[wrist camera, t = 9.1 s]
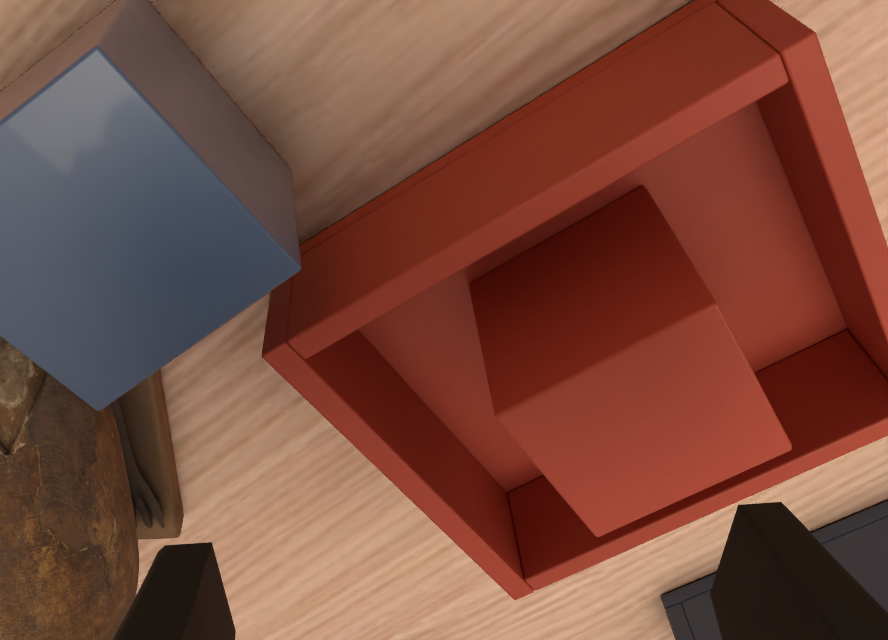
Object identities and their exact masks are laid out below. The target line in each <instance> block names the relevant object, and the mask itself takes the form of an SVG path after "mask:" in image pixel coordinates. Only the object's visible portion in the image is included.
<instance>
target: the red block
mask: <svg viewBox="0 0 888 640" xmlns="http://www.w3.org/2000/svg"><path fill="white" fill-rule="evenodd" d="M469 289H470V294H471V299H472V304H473V309H474V314H475V319H476V324H477V329H478V334H479V339H480V344H481V349H482V354H483V359H484V364H485V369H486V374H487V379H488V384H489V389H490V395H491V400H492V405H493V410H494V415H495V418H496V419H497V420H498V422H499V423H500V424H501V425H502V426H503V427H504V429H505V430H506V431H507V432H508V433H509V435H510V436H511V437H512V438H513V439H514V440H515V442H516V443H517V444H518V445H519V446H520V448H521V449H522V450H523V451H524V452H525V453H526V455H527V456H528V457H529V458H530V459H531V461H532V462H533V463H534V464H535V465H536V466H537V468H538V469H539V470H540V471H541V472H542V474H543V475H544V476H545V477H546V478H547V479H548V481H549V482H550V483H551V484H552V485H553V487H554V488H555V489H556V490H557V491H558V492H559V494H560V495H561V496H562V497H563V498H564V500H565V501H566V502H567V503H568V504H569V505H570V507H571V508H572V509H573V510H574V511H575V513H576V514H577V515H578V516H579V517H580V518H581V520H582V521H583V522H584V523H585V524H586V526H587V527H588V528H589V529H590V530H591V531H592V533H593V534H594V535H595V536H596V537H600V536H602V535H604V534H606V533H609V532H611V531H613V530H615V529H617V528H620V527H622V526H624V525H626V524H629V523H631V522H633V521H635V520H637V519H640V518H642V517H644V516H646V515H649V514H651V513H653V512H655V511H657V510H660V509H662V508H664V507H666V506H669V505H671V504H673V503H675V502H677V501H680V500H682V499H684V498H686V497H688V496H691V495H693V494H695V493H697V492H700V491H702V490H704V489H706V488H708V487H711V486H713V485H715V484H717V483H720V482H722V481H724V480H726V479H728V478H731V477H733V476H735V475H737V474H740V473H742V472H744V471H746V470H748V469H751V468H753V467H755V466H757V465H759V464H762V463H764V462H766V461H768V460H771V459H773V458H775V457H777V456H779V455H782V454H784V453H786V452H788V451H790V450H791V449H792V444H791V442H790V440H789V438H788V437H787V435H786V433H785V431H784V429H783V427H782V425H781V423H780V421H779V419H778V418H777V416H776V414H775V412H774V410H773V408H772V406H771V404H770V402H769V400H768V398H767V397H766V395H765V393H764V391H763V389H762V387H761V385H760V383H759V381H758V379H757V378H756V376H755V374H754V372H753V370H752V368H751V366H750V364H749V362H748V360H747V359H746V357H745V355H744V353H743V351H742V349H741V347H740V345H739V343H738V341H737V339H736V338H735V336H734V334H733V332H732V330H731V328H730V326H729V324H728V322H727V320H726V319H725V317H724V315H723V313H722V311H721V309H720V307H719V305H718V303H717V302H716V300H715V298H714V297H713V295H712V294H711V292H710V290H709V289H708V287H707V285H706V284H705V282H704V281H703V279H702V277H701V276H700V274H699V272H698V271H697V269H696V268H695V266H694V264H693V263H692V261H691V259H690V258H689V256H688V255H687V253H686V251H685V250H684V248H683V246H682V245H681V243H680V242H679V240H678V238H677V237H676V235H675V233H674V232H673V230H672V229H671V227H670V225H669V224H668V222H667V220H666V219H665V217H664V216H663V214H662V212H661V211H660V209H659V207H658V206H657V204H656V203H655V201H654V199H653V198H652V196H651V194H650V193H649V191H648V190H647V188H646V187H645V186H641V187H639V188H637V189H635V190H634V191H632V192H630V193H628V194H627V195H625V196H623V197H621V198H620V199H618V200H616V201H614V202H613V203H611V204H609V205H607V206H605V207H604V208H602V209H600V210H598V211H597V212H595V213H593V214H591V215H590V216H588V217H586V218H584V219H583V220H581V221H579V222H577V223H576V224H574V225H572V226H570V227H568V228H567V229H565V230H563V231H561V232H560V233H558V234H556V235H554V236H553V237H551V238H549V239H547V240H546V241H544V242H542V243H540V244H538V245H537V246H535V247H533V248H531V249H530V250H528V251H526V252H524V253H523V254H521V255H519V256H517V257H516V258H514V259H512V260H510V261H508V262H507V263H505V264H503V265H501V266H500V267H498V268H496V269H494V270H493V271H491V272H489V273H487V274H486V275H484V276H482V277H480V278H478V279H477V280H475V281H473V282H471V283H470V284H469Z"/></svg>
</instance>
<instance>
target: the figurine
mask: <svg viewBox="0 0 888 640" xmlns="http://www.w3.org/2000/svg"><path fill="white" fill-rule="evenodd" d="M183 516H184V515H183V509H182V503H181V498H180V492H179V487H178V480H177V473H176V467H175V461H174V455H173V449H172V443H171V436H170V429H169V423H168V417H167V411H166V405H165V399H164V393H163V387H162V381H161V373H160V369H159V370H158V371H156V372H155V373H153V374H152V375H150V376H149V377H148V378H146V379H145V380H143V381H142V382H140V383H139V384H138V385H136V386H135V387H133V388H132V389H131V390H129V391H128V392H126V393H125V394H123V395H122V396H121V397H119V398H118V399H116V400H115V401H113V402H112V403H111V404H109V405H108V406H106V407H105V408H103V409H102V410H101V411H97V410H95V409H94V408H93V407H91V406H90V405H89V404H88V403H86V402H85V401H84V400H82V399H81V398H80V397H78V396H77V395H76V394H75V393H73V392H72V391H71V390H69V389H68V388H67V387H66V386H64V385H63V384H62V383H60V382H59V381H58V380H56V379H55V378H54V377H53V376H51V375H50V374H49V373H47V372H46V371H45V370H44V369H42V368H41V367H40V366H38V365H37V364H36V363H34V362H33V361H32V360H31V359H29V358H28V357H27V356H25V355H24V354H23V353H22V352H20V351H19V350H18V349H16V348H15V347H14V346H12V345H11V344H10V343H9V342H7V341H6V340H5V339H3V338H2V337H1V336H0V640H113V638H114V636H115V634H116V632H117V631H118V629H119V627H120V625H121V623H122V622H123V620H124V618H125V616H126V614H127V612H128V610H129V609H130V607H131V605H132V603H133V601H134V599H135V596H136V591H137V584H138V574H139V551H138V541H137V540H138V539H165V538H177V537H179V536H180V532H181V528H182V522H183Z"/></svg>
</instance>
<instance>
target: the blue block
mask: <svg viewBox="0 0 888 640" xmlns="http://www.w3.org/2000/svg"><path fill="white" fill-rule="evenodd" d="M300 270H301V259H300V250H299V241H298V232H297V224H296V215H295V206H294V197H293V188H292V179H291V170H290V168H289V167H288V166H287V164H286V163H285V162H284V161H283V160H282V158H281V157H280V156H279V155H278V154H277V153H276V151H275V150H274V149H273V148H272V147H271V145H270V144H269V143H268V142H267V141H266V140H265V138H264V137H263V136H262V135H261V134H260V132H259V131H258V130H257V129H256V128H255V127H254V125H253V124H252V123H251V122H250V121H249V119H248V118H247V117H246V116H245V115H244V114H243V112H242V111H241V110H240V109H239V108H238V106H237V105H236V104H235V103H234V102H233V101H232V99H231V98H230V97H229V96H228V95H227V93H226V92H225V91H224V90H223V89H222V88H221V86H220V85H219V84H218V83H217V82H216V81H215V79H214V78H213V77H212V76H211V75H210V73H209V72H208V71H207V70H206V69H205V68H204V66H203V65H202V64H201V63H200V62H199V60H198V59H197V58H196V57H195V56H194V55H193V53H192V52H191V51H190V50H189V49H188V47H187V46H186V45H185V44H184V43H183V42H182V40H181V39H180V38H179V37H178V36H177V34H176V33H175V32H174V31H173V30H172V29H171V27H170V26H169V25H168V24H167V23H166V21H165V20H164V19H163V18H162V17H161V16H160V14H159V13H158V12H157V11H156V10H155V8H154V7H153V6H152V5H151V4H150V3H149V1H148V0H115V1H114V2H113V3H111V4H110V5H109V6H108V7H106V8H105V9H104V10H103V11H101V12H100V13H99V14H98V15H96V16H95V17H94V18H93V19H91V20H90V21H89V22H88V23H86V24H85V25H84V26H83V27H81V28H80V29H79V30H78V31H76V32H75V33H74V34H73V35H71V36H70V37H69V38H68V39H66V40H65V41H64V42H63V43H61V44H60V45H59V46H58V47H56V48H55V49H54V50H53V51H51V52H50V53H49V54H48V55H46V56H45V57H44V58H42V59H41V60H40V61H39V62H37V63H36V64H35V65H34V66H32V67H31V68H30V69H29V70H27V71H26V72H25V73H24V74H22V75H21V76H20V77H19V78H17V79H16V80H15V81H14V82H12V83H11V84H10V85H9V86H7V87H6V88H5V89H4V90H2V91H1V92H0V336H1V337H2V338H3V339H5V340H6V341H7V342H9V343H10V344H11V345H12V346H14V347H15V348H16V349H18V350H19V351H20V352H22V353H23V354H24V355H25V356H27V357H28V358H29V359H31V360H32V361H33V362H34V363H36V364H37V365H38V366H40V367H41V368H42V369H44V370H45V371H46V372H47V373H49V374H50V375H51V376H53V377H54V378H55V379H56V380H58V381H59V382H60V383H62V384H63V385H64V386H66V387H67V388H68V389H69V390H71V391H72V392H73V393H75V394H76V395H77V396H78V397H80V398H81V399H82V400H84V401H85V402H86V403H88V404H89V405H90V406H91V407H93V408H94V409H95V410H97V411H101V410H102V409H103V408H105V407H106V406H108V405H109V404H111V403H112V402H113V401H115V400H116V399H118V398H119V397H121V396H122V395H123V394H125V393H126V392H128V391H129V390H131V389H132V388H133V387H135V386H136V385H138V384H139V383H140V382H142V381H143V380H145V379H146V378H148V377H149V376H150V375H152V374H153V373H155V372H156V371H158V370H159V369H160V368H162V367H163V366H165V365H166V364H168V363H169V362H170V361H172V360H173V359H175V358H176V357H178V356H179V355H180V354H182V353H183V352H185V351H186V350H188V349H189V348H190V347H192V346H193V345H195V344H196V343H198V342H199V341H200V340H202V339H203V338H205V337H206V336H207V335H209V334H210V333H212V332H213V331H215V330H216V329H217V328H219V327H220V326H222V325H223V324H225V323H226V322H227V321H229V320H230V319H232V318H233V317H235V316H236V315H237V314H239V313H240V312H242V311H243V310H245V309H246V308H247V307H249V306H250V305H252V304H253V303H255V302H256V301H257V300H259V299H260V298H262V297H263V296H265V295H266V294H267V293H269V292H270V291H272V290H273V289H274V288H276V287H277V286H279V285H280V284H282V283H283V282H284V281H286V280H287V279H289V278H290V277H292V276H293V275H294V274H296V273H297V272H299V271H300Z"/></svg>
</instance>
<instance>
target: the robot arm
mask: <svg viewBox="0 0 888 640" xmlns="http://www.w3.org/2000/svg"><path fill="white" fill-rule="evenodd" d="M710 597H711V600H712V604H713V608H714V611H715V615H716V619H717V622H718V626H719V630H720V633H721V637H722V640H888V612H887V611H886V610H885V609H884V608H883V607H882V606H881V605H880V604H879V603H878V602H877V601H876V600H875V599H874V598H873V597H872V596H871V595H870V594H869V593H868V592H867V591H866V590H865V589H864V588H863V587H862V586H861V584H860V583H859V582H858V581H857V580H856V579H855V578H854V577H853V576H852V575H851V574H850V573H849V572H848V571H847V570H846V569H845V568H844V567H843V566H842V565H841V564H840V563H839V562H838V561H837V560H836V559H835V558H834V557H833V555H832V554H831V553H830V552H829V551H828V550H827V549H826V548H825V547H824V546H823V545H822V544H821V543H820V542H819V541H818V540H817V539H816V538H815V537H814V536H813V534H812V533H811V532H810V531H809V530H808V529H807V528H806V527H805V526H804V525H803V524H802V523H801V522H800V521H799V520H798V519H797V518H796V517H795V516H794V515H793V514H792V513H791V512H790V511H789V510H788V508H787V507H786V506H785V505H783V504H782V503H781V502H774V503H760V504H746V505H738V508H737V511H736V514H735V517H734V520H733V523H732V526H731V530H730V533H729V536H728V539H727V542H726V545H725V548H724V551H723V554H722V558H721V561H720V564H719V567H718V570H717V573H716V576H715V579H714V582H713V586H712V589H711V592H710ZM235 632H236V631H235V627H234V624H233V620H232V616H231V612H230V609H229V605H228V601H227V598H226V594H225V590H224V586H223V583H222V579H221V575H220V572H219V568H218V564H217V560H216V557H215V553H214V549H213V546H212V542H209V543H195V544H181V545H167V546H164V547H163V548H162V549H161V550H160V551H158V553H157V555H156V557H155V559H154V561H153V563H152V566H151V568H150V570H149V572H148V574H147V576H146V578H145V580H144V582H143V584H142V586H141V588H140V590H139V591H138V593H137V595H136V597H135V599H134V601H133V603H132V605H131V607H130V609H129V610H128V612H127V614H126V616H125V618H124V620H123V622H122V623H121V625H120V627H119V629H118V631H117V632H116V634H115V636H114V638H113V640H235Z"/></svg>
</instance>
